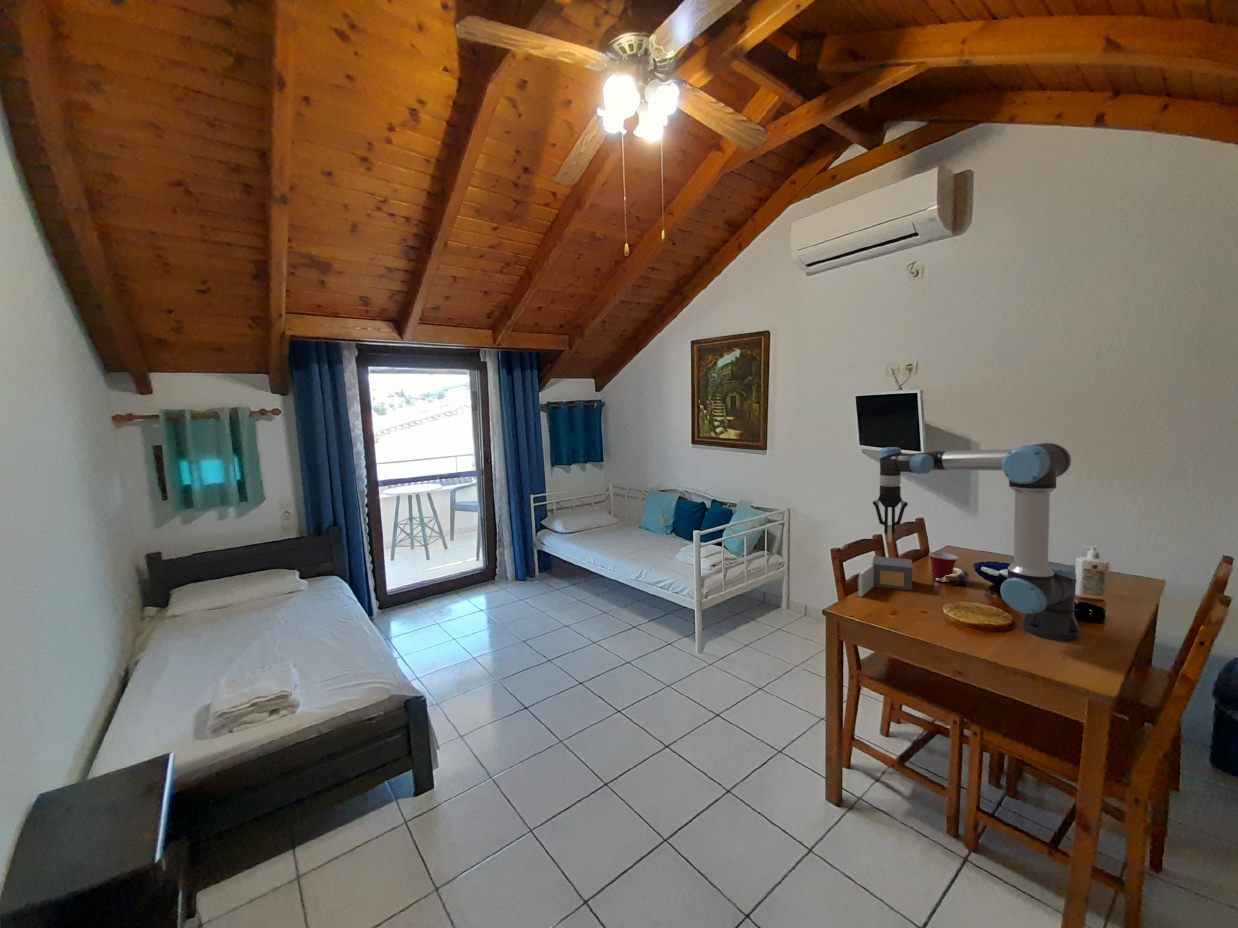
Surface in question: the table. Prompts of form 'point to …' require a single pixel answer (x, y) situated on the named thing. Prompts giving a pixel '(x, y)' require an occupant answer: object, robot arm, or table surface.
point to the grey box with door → (893, 573)
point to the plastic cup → (942, 564)
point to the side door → (866, 580)
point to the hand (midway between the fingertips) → (889, 541)
